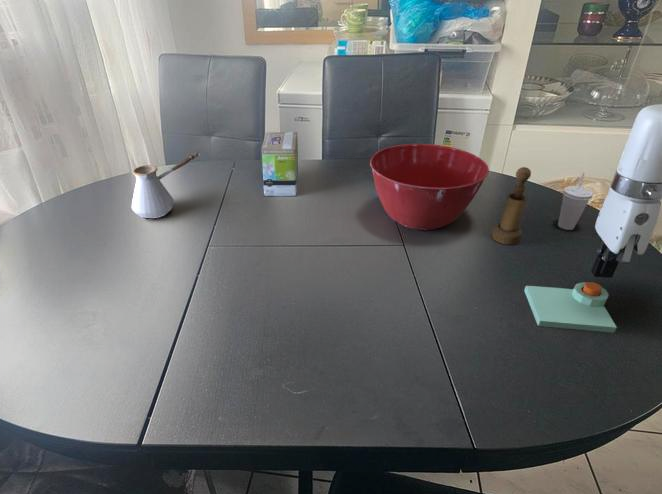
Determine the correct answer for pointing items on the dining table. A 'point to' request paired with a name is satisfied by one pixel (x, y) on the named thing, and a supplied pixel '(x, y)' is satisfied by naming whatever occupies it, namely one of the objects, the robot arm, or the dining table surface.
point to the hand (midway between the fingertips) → (601, 274)
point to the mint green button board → (570, 308)
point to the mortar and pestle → (513, 212)
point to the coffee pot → (153, 191)
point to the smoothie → (573, 205)
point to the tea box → (280, 163)
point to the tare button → (592, 289)
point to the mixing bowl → (426, 183)
